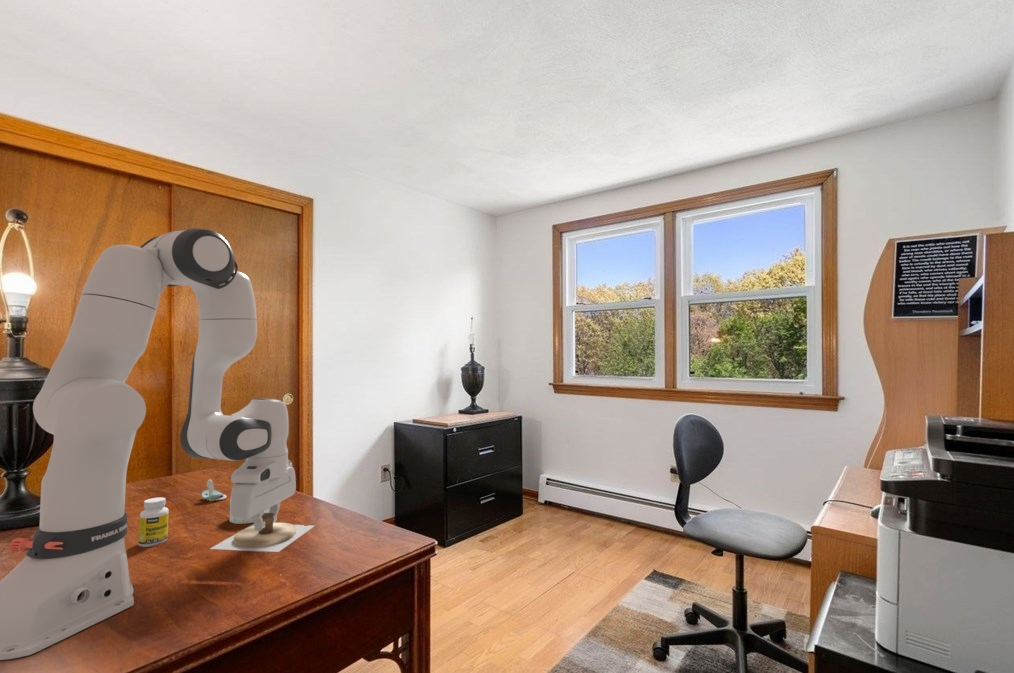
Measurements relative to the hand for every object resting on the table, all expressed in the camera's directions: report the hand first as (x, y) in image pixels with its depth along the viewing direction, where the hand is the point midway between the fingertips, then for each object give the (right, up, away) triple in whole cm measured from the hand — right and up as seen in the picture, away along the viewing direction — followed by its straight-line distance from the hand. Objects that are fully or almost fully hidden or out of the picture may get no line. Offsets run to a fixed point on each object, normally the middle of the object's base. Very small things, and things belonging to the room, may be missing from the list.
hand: (265, 526), depth 111 cm
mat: (0, -3, 0) cm, 3 cm away
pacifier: (-31, -4, +30) cm, 44 cm away
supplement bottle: (-24, -3, -3) cm, 25 cm away
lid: (0, -2, 0) cm, 2 cm away
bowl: (-11, -3, +13) cm, 17 cm away
